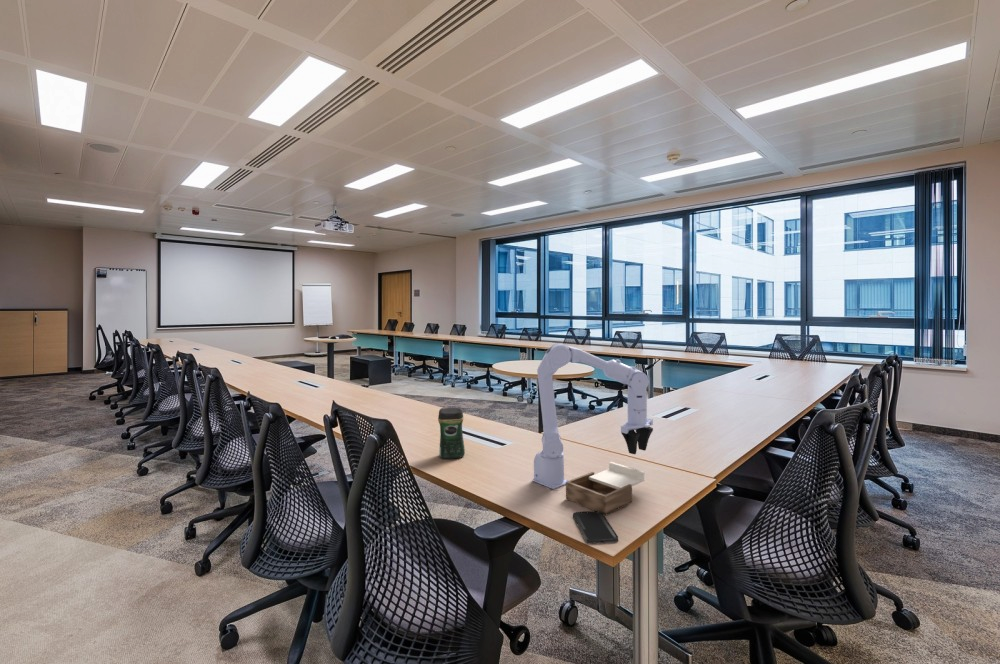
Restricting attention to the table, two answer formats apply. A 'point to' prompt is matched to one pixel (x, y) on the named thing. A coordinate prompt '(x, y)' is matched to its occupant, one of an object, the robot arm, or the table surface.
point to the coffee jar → (451, 433)
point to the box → (597, 494)
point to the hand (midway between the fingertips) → (637, 451)
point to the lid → (618, 476)
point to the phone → (595, 527)
